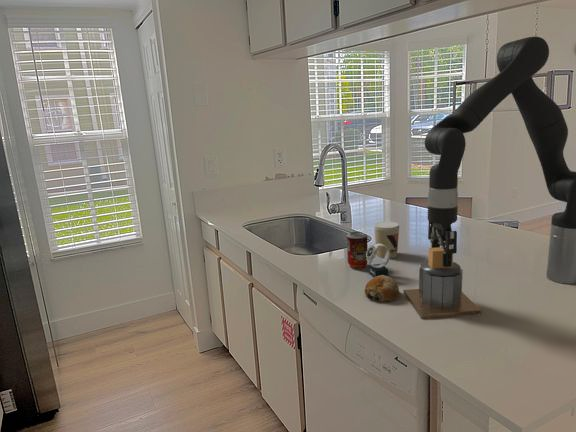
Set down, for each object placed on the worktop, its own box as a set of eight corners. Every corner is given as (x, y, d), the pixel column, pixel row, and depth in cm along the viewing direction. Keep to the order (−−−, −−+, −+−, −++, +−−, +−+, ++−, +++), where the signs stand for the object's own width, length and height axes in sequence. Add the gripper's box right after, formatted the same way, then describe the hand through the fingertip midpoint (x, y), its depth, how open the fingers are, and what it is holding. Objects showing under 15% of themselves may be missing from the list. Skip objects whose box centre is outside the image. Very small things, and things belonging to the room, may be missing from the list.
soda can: (352, 271, 148) (352, 237, 145) (344, 264, 154) (343, 232, 152) (371, 268, 150) (370, 234, 147) (362, 261, 156) (361, 229, 153)
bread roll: (400, 311, 125) (410, 287, 124) (371, 303, 121) (382, 278, 120) (383, 298, 134) (393, 275, 133) (356, 290, 130) (366, 266, 130)
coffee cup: (391, 260, 156) (391, 229, 153) (369, 256, 162) (369, 225, 159) (403, 253, 162) (403, 223, 159) (382, 249, 168) (381, 220, 166)
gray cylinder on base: (455, 289, 128) (457, 258, 126) (481, 314, 113) (483, 278, 110) (403, 293, 128) (403, 261, 126) (421, 318, 112) (421, 282, 110)
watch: (363, 274, 144) (363, 243, 142) (386, 271, 146) (385, 240, 143) (370, 280, 139) (369, 248, 136) (393, 277, 141) (393, 245, 138)
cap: (451, 266, 123) (451, 242, 122) (466, 280, 113) (467, 253, 112) (415, 269, 123) (415, 244, 121) (428, 283, 113) (428, 256, 111)
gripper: (468, 208, 107) (465, 269, 111) (446, 197, 120) (444, 252, 124) (438, 210, 107) (437, 271, 110) (419, 199, 120) (418, 253, 124)
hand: (441, 261), depth 117 cm, fingers open, 8 cm apart
